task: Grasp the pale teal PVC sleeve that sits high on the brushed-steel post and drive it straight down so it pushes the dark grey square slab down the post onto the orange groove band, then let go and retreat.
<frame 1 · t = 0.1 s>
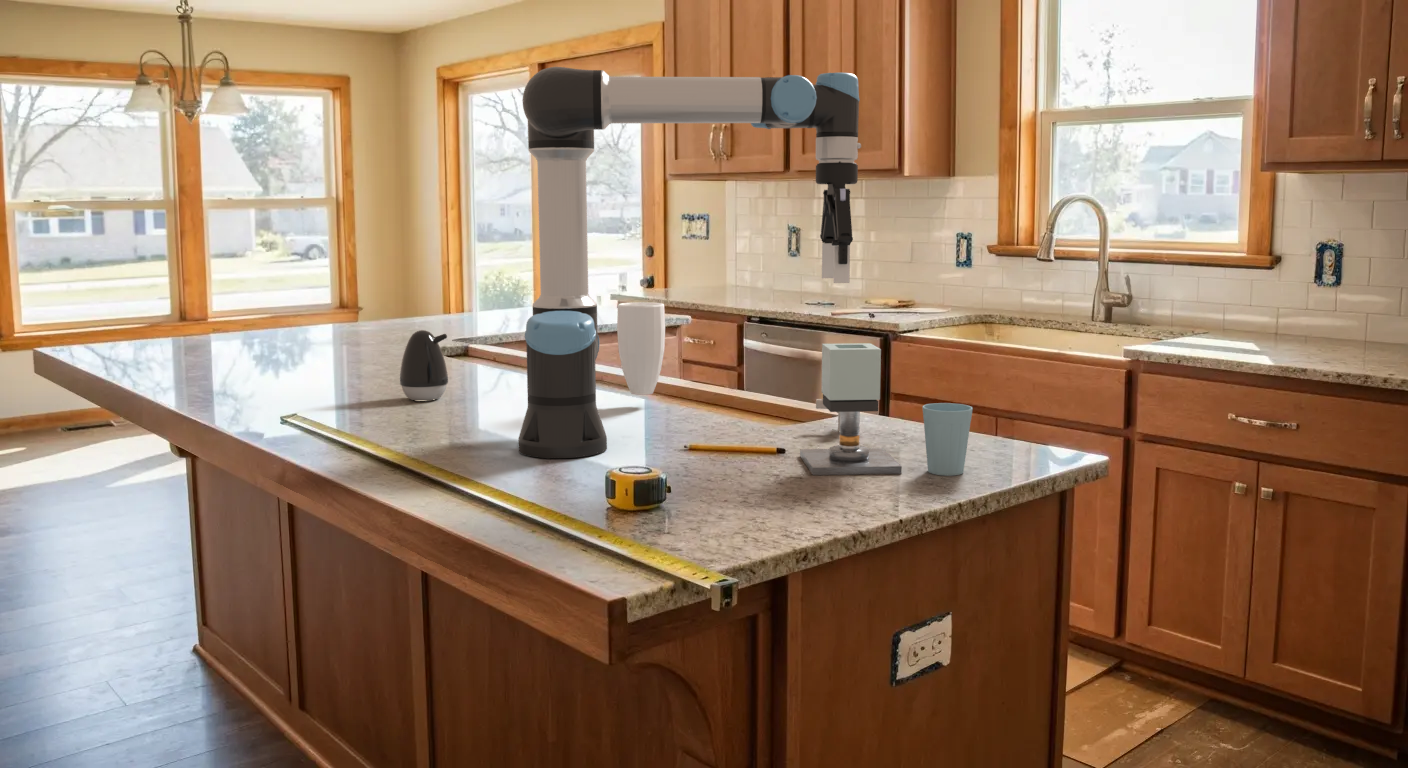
hand: (835, 280, 215), 28 cm above the table, fingers open, 13 cm apart
pipe connector: (842, 432, 219), on the table
sleeve: (850, 371, 189), point 15 cm above the table, slide at 6.3 cm
cup: (945, 473, 186), on the table
dark grey square slab: (850, 402, 190), point 10 cm above the table, slide at 6.0 cm
pipe stand: (849, 464, 191), on the table
pump dispenser: (425, 400, 257), on the table
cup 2: (642, 407, 246), on the table
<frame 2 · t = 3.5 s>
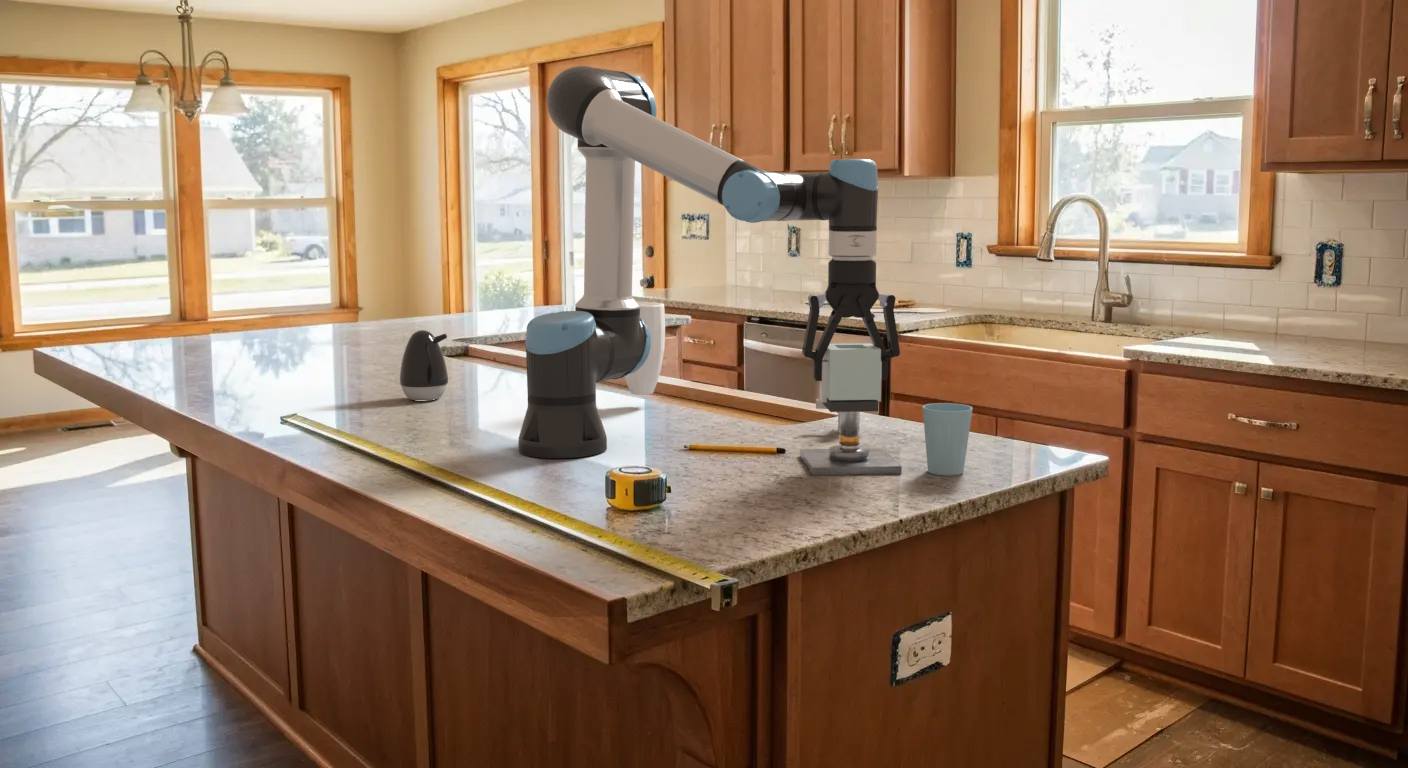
hand: (850, 400, 190), 11 cm above the table, fingers closed on sleeve, 8 cm apart
sleeve: (850, 371, 189), point 15 cm above the table, slide at 6.3 cm, touching gripper
everything else where it was.
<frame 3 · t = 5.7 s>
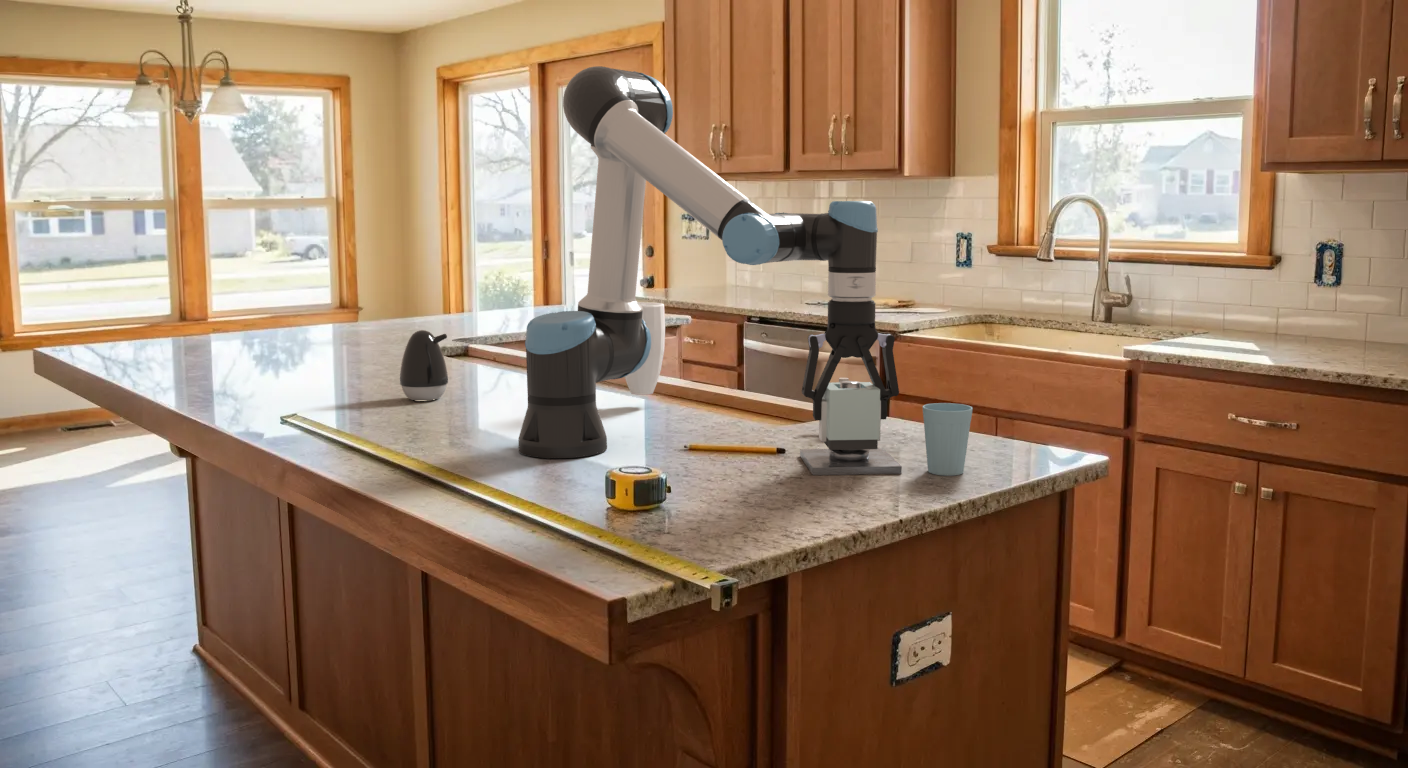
hand: (849, 439, 191), 4 cm above the table, fingers closed on sleeve, 8 cm apart
sleeve: (849, 410, 190), point 9 cm above the table, slide at -0.1 cm, touching gripper, dark grey square slab
dark grey square slab: (849, 439, 191), point 4 cm above the table, slide at -0.1 cm, touching sleeve
everything else where it was.
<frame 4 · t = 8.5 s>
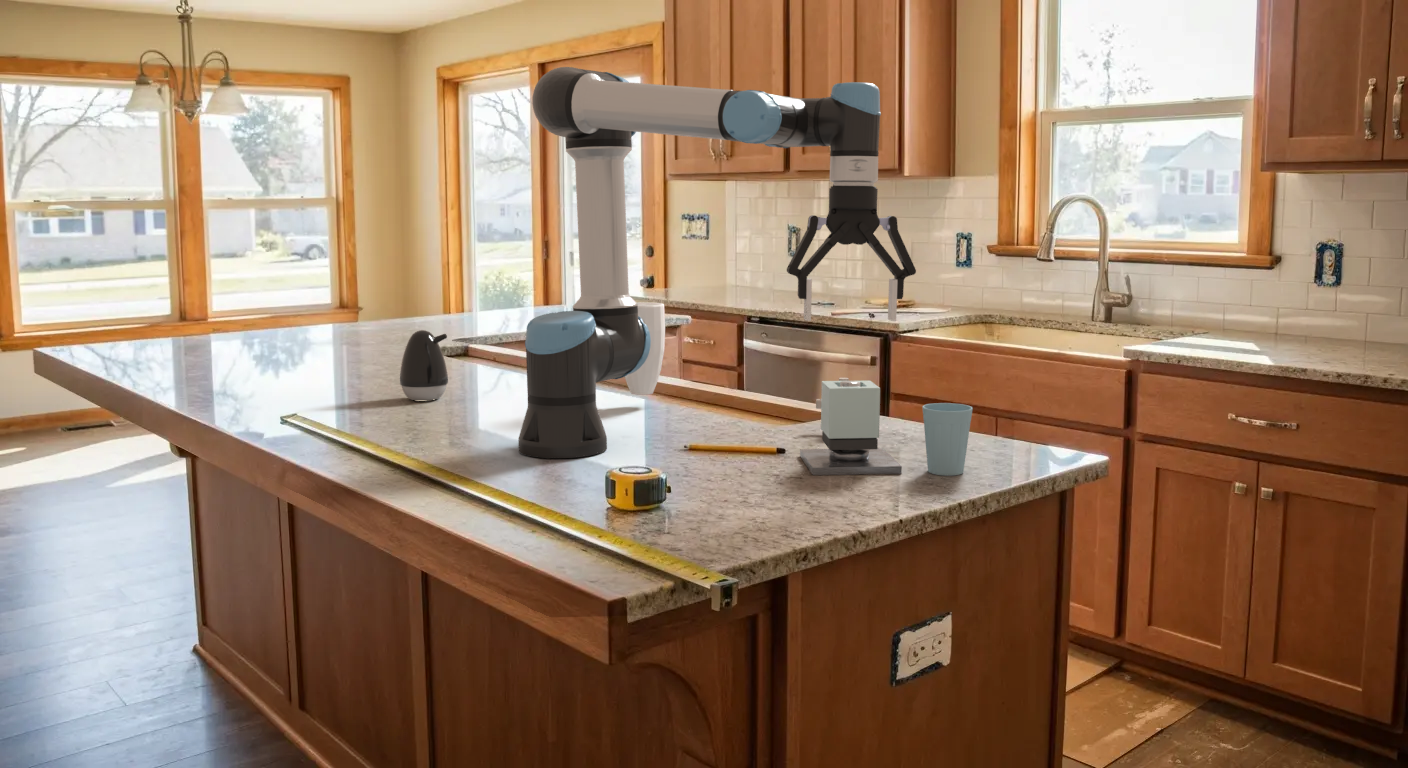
hand: (849, 320, 188), 24 cm above the table, fingers open, 13 cm apart
sleeve: (849, 408, 190), point 9 cm above the table, slide at 0.2 cm
dark grey square slab: (849, 439, 191), point 4 cm above the table, slide at -0.1 cm
everything else where it was.
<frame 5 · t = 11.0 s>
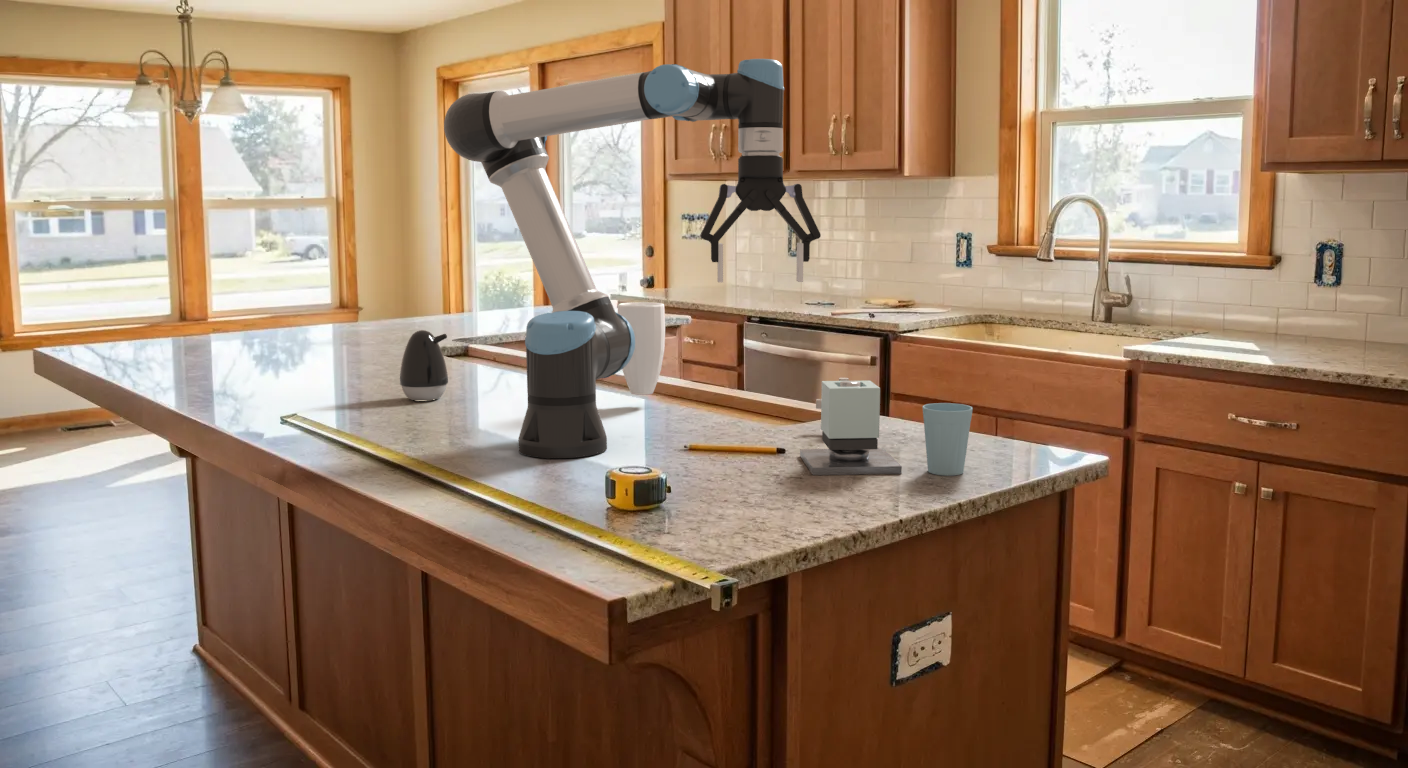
hand: (760, 281, 201), 29 cm above the table, fingers open, 13 cm apart
nothing on the table moved.
at the end: dark grey square slab slide at -0.1 cm; the gripper is holding nothing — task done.
